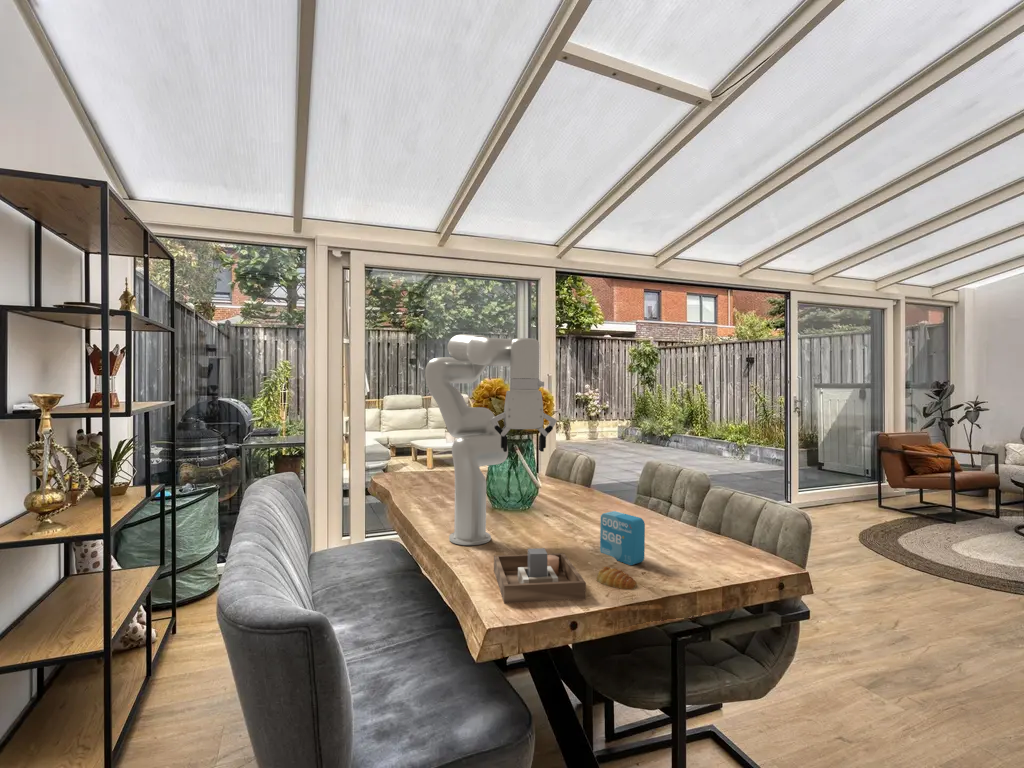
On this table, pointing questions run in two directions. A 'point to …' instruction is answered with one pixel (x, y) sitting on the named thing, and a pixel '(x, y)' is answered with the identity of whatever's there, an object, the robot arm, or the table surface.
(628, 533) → the data package
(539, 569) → the gray block
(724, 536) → the table surface
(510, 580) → the crate
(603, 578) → the pastry
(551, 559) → the ball
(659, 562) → the table surface
